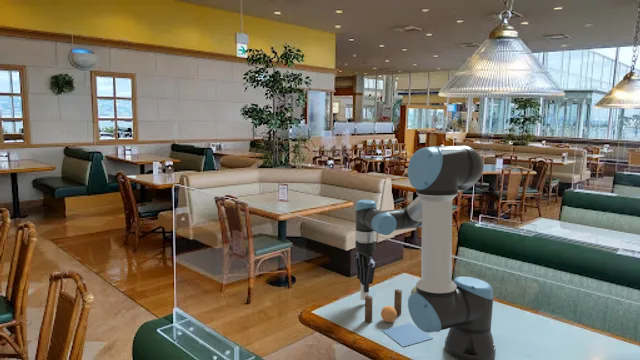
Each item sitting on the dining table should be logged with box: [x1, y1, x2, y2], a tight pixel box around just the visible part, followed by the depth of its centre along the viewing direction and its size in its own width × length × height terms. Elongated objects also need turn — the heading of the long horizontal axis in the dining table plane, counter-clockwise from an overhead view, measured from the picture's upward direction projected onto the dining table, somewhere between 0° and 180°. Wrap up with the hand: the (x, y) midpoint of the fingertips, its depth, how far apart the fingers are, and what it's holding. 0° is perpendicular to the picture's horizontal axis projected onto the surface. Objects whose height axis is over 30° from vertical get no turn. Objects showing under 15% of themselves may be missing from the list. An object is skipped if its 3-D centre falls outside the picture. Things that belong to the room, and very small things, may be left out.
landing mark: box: [381, 322, 433, 348], centre depth 152 cm, size 12×12×1 cm
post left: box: [364, 295, 374, 324], centre depth 161 cm, size 3×3×9 cm
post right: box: [393, 289, 403, 316], centre depth 167 cm, size 3×3×9 cm
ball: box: [380, 305, 398, 323], centre depth 161 cm, size 6×6×6 cm
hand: (364, 298), depth 176 cm, fingers closed
